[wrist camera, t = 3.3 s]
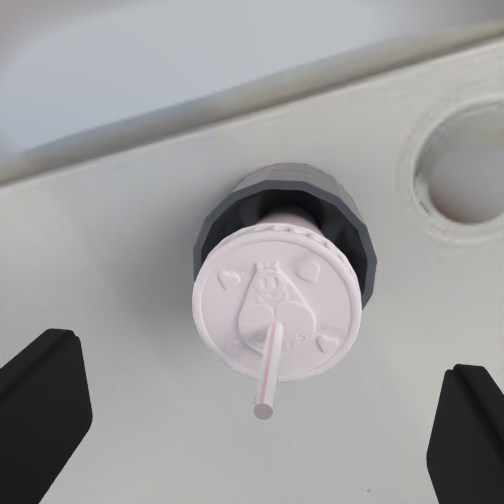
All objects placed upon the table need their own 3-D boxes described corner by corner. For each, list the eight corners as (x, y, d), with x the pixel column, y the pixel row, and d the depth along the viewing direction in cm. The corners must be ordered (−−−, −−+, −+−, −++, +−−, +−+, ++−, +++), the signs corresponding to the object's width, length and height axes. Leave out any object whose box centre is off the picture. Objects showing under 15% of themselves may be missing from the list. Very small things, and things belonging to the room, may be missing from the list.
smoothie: (244, 288, 25) (172, 484, 12) (226, 189, 23) (114, 293, 10) (346, 278, 24) (393, 485, 10) (337, 174, 21) (380, 269, 8)
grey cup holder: (367, 165, 21) (387, 184, 16) (351, 300, 24) (364, 357, 19) (219, 160, 22) (189, 177, 17) (221, 290, 25) (196, 341, 20)
